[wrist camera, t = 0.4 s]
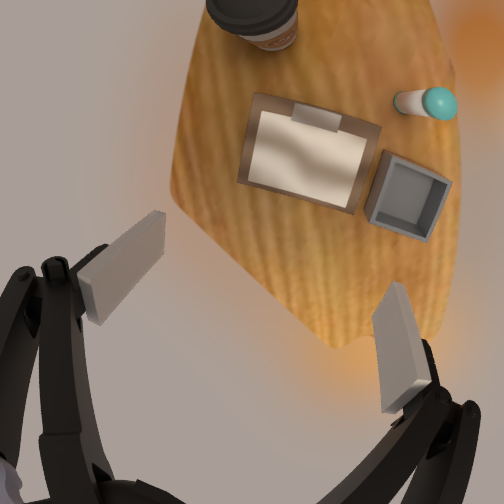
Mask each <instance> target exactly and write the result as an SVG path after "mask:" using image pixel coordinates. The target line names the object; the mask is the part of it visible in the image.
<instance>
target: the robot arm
mask: <svg viewBox="0 0 504 504" xmlns="http://www.w3.org/2000/svg"><path fill="white" fill-rule="evenodd" d="M165 222H166V213H164V212H160V211H156V210H154V211H153V212H151V213H150V214H148V215H147V216H146V217H145V218H143V219H142V220H141V221H139V222H138V223H137V224H135V225H134V226H133V227H131V228H130V229H129V230H128V231H126V232H125V233H124V234H123V235H121V236H120V237H119V238H118V239H116V240H115V241H114V242H113V243H112V244H110V245H108V244H103V245H101V246H98V247H96V248H95V249H94V250H92V251H91V252H90V254H87V255H86V256H85V257H84V258H83V259H81V260H80V261H79V262H78V263H77V264H76V265H74V266H73V267H72V268H71V269H70V270H69V266H68V261H67V259H66V258H64V257H61V256H55V257H51V258H49V259H47V260H45V261H44V262H43V263H42V265H41V270H42V273H43V277H37V276H36V274H35V271H34V269H33V268H32V267H29V266H23V267H20V268H19V269H17V270H16V271H15V272H14V273H13V275H12V276H11V278H10V280H9V282H8V283H7V285H6V287H5V289H4V291H3V293H2V295H1V297H0V504H185V503H184V502H182V501H181V500H179V499H177V498H176V497H174V496H173V495H171V494H170V493H168V492H166V491H164V490H162V489H159V488H157V487H154V486H152V485H149V484H147V483H145V482H143V481H140V480H138V479H137V481H136V482H135V481H128V480H115V478H114V475H113V472H112V470H111V467H110V464H109V462H108V460H107V458H106V456H105V454H104V451H103V447H102V444H101V440H100V436H99V432H98V428H97V424H96V420H95V414H94V410H93V404H92V399H91V394H90V388H89V381H88V375H87V367H86V358H85V349H84V337H83V323H82V318H81V316H82V315H83V314H84V312H85V311H86V314H87V317H88V320H89V321H91V322H93V323H95V324H97V325H99V326H101V325H102V324H103V323H104V321H105V320H106V319H107V318H108V317H109V315H110V314H111V313H112V312H113V311H114V309H115V308H116V307H117V306H118V305H119V304H120V303H121V301H122V300H123V299H124V298H125V297H126V296H127V294H128V293H129V292H130V291H131V290H132V289H133V288H134V286H135V285H136V284H137V283H138V282H139V281H140V279H141V278H142V277H143V276H144V275H145V274H146V273H147V272H148V270H150V269H151V267H152V266H153V265H154V264H155V263H156V262H157V261H158V260H159V259H160V258H161V256H162V255H163V254H164V240H165ZM372 322H373V328H374V336H375V343H376V351H377V359H378V370H379V380H380V392H381V408H382V413H390V414H396V413H397V412H398V411H399V410H400V409H402V408H403V415H402V416H401V417H400V418H398V419H397V420H396V421H395V422H393V423H392V424H391V426H392V428H391V429H390V430H389V431H388V433H387V434H386V435H385V436H384V437H383V439H382V440H381V441H380V442H379V443H378V444H377V446H376V447H375V448H374V449H373V450H372V451H371V452H370V453H369V454H368V455H367V457H366V458H365V459H364V460H363V461H362V462H361V463H360V464H359V465H358V466H357V467H356V468H355V469H354V470H353V471H352V472H351V473H350V474H349V475H348V476H347V477H346V478H345V479H344V480H343V481H342V482H341V483H340V484H338V485H337V486H336V487H335V488H334V489H333V490H332V491H331V492H330V493H329V494H327V495H326V496H325V497H324V498H323V499H321V500H320V501H319V502H318V503H317V504H389V502H390V501H391V500H392V499H393V497H394V496H395V495H396V494H397V493H398V491H399V490H400V489H401V487H402V486H403V485H404V483H405V482H406V481H407V479H408V478H409V476H410V475H411V474H412V472H413V471H414V469H415V468H416V466H417V468H416V470H415V473H414V475H413V478H412V480H411V482H410V485H409V487H408V489H407V491H406V493H405V495H404V497H403V500H402V502H401V504H462V502H463V499H464V496H465V493H466V489H467V486H468V482H469V478H470V474H471V471H472V466H473V462H474V457H475V452H476V447H477V441H478V435H479V428H480V420H481V411H480V408H479V406H478V405H477V404H476V403H475V402H474V401H472V400H467V402H465V403H464V404H463V405H459V404H457V403H455V402H453V401H452V398H451V395H450V393H449V392H448V390H447V389H445V388H444V387H442V386H440V382H439V377H438V373H437V370H436V365H435V364H434V363H435V362H434V358H433V354H432V351H431V347H430V346H429V344H428V343H427V341H426V340H425V339H421V336H420V333H419V330H418V326H417V323H416V320H415V316H414V313H413V310H412V307H411V304H410V301H409V298H408V295H407V292H406V289H405V287H404V284H400V283H397V282H394V281H392V283H391V285H390V287H389V288H388V290H387V292H386V294H385V295H384V297H383V299H382V301H381V302H380V304H379V306H378V307H377V309H376V310H375V312H374V314H373V315H372ZM38 347H39V388H40V403H41V414H42V424H43V433H42V434H41V435H40V436H39V450H40V456H41V461H42V466H43V471H44V475H45V480H46V484H47V488H48V491H49V495H50V498H48V499H43V500H39V501H34V502H29V503H24V502H23V500H22V498H21V496H20V492H19V490H20V489H21V488H22V481H21V479H20V478H19V476H18V474H17V472H16V470H15V469H16V466H17V462H18V457H19V451H20V442H21V433H22V424H23V416H24V410H25V404H26V398H27V393H28V388H29V383H30V378H31V374H32V370H33V366H34V362H35V358H36V354H37V350H38Z"/></svg>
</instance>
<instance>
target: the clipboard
mask: <svg viewBox="0 0 504 504" xmlns="http://www.w3.org/2000/svg"><path fill="white" fill-rule="evenodd" d="M381 128H382V127H380V126H378V125H375V124H372V123H369V122H366V121H364V120H361V119H358V118H355V117H352V116H348V115H345V114H342V113H339V112H335V111H332V110H329V109H325V108H322V107H318V106H314V105H310V104H306V103H302V102H298V101H294V100H290V99H285V98H281V97H276V96H271V95H266V94H260V93H255V92H254V96H253V101H252V106H251V111H250V116H249V121H248V126H247V131H246V136H245V142H244V147H243V152H242V157H241V163H240V168H239V174H238V179H237V183H241V184H245V185H249V186H253V187H257V188H261V189H265V190H269V191H273V192H276V193H280V194H284V195H288V196H291V197H295V198H298V199H302V200H305V201H309V202H312V203H316V204H319V205H323V206H326V207H329V208H333V209H336V210H339V211H342V212H346V213H349V214H352V215H354V213H355V210H356V207H357V205H358V202H359V199H360V196H361V193H362V190H363V187H364V184H365V181H366V178H367V175H368V172H369V169H370V165H371V162H372V159H373V156H374V152H375V149H376V146H377V142H378V139H379V135H380V132H381Z"/></svg>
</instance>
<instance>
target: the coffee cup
mask: <svg viewBox="0 0 504 504" xmlns="http://www.w3.org/2000/svg"><path fill="white" fill-rule="evenodd" d="M297 6H298V0H206V7H207V11H208V13H209V15H210V16H211V18H212V19H213V20H214V21H215V23H216V24H217V25H219V26H220V27H221V28H222V29H224V30H226V31H228V32H230V33H232V34H236V35H238V36H239V37H241V38H242V39H244V40H246V41H248V42H249V43H251V44H253V45H255V46H257V47H259V48H261V49H264V50H267V51H277V50H282V49H284V48H286V47H288V46H289V45H291V44H292V42H293V41H294V40H295V38H296V35H297V26H298V13H297Z"/></svg>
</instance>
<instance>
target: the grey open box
mask: <svg viewBox="0 0 504 504" xmlns="http://www.w3.org/2000/svg"><path fill="white" fill-rule="evenodd" d="M451 185H452V181H450V180H449V179H447V178H446V177H444V176H443V175H441V174H440V173H438V172H436V171H434V170H432V169H430V168H427V167H425V166H423V165H421V164H418V163H416V162H414V161H411V160H409V159H407V158H404V157H402V156H399V155H397V154H394V153H392V152H389V151H386V150H383V153H382V156H381V160H380V163H379V166H378V169H377V172H376V175H375V178H374V181H373V184H372V187H371V190H370V193H369V196H368V199H367V202H366V204H365V207H364V211H365V214H366V216H367V219H368V221H369V223H371V224H374V225H377V226H380V227H383V228H386V229H388V230H391V231H394V232H397V233H400V234H403V235H406V236H408V237H411V238H414V239H417V240H420V241H422V242H425V243H427V242H428V240H429V238H430V236H431V234H432V231H433V229H434V227H435V225H436V222H437V220H438V218H439V215H440V213H441V211H442V208H443V206H444V203H445V201H446V198H447V196H448V193H449V191H450V188H451Z"/></svg>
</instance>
